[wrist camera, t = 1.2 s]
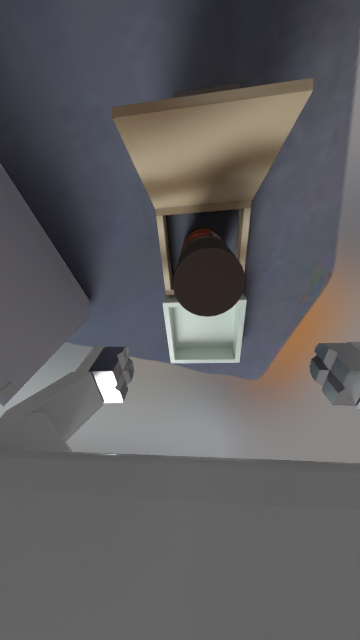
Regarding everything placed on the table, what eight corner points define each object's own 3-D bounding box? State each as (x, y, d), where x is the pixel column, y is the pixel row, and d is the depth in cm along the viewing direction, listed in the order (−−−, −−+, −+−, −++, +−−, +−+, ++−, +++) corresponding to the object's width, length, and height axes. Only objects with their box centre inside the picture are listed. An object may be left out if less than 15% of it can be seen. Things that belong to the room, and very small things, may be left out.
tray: (166, 292, 32) (162, 303, 29) (241, 289, 31) (246, 299, 28) (172, 349, 39) (170, 363, 35) (235, 348, 38) (239, 362, 34)
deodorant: (227, 233, 27) (258, 257, 14) (215, 273, 30) (230, 322, 17) (187, 223, 27) (181, 239, 14) (178, 264, 30) (167, 308, 17)
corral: (159, 208, 26) (155, 208, 23) (245, 200, 25) (251, 200, 22) (168, 287, 32) (166, 294, 29) (238, 284, 31) (242, 291, 28)
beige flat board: (154, 208, 23) (154, 196, 23) (252, 199, 22) (252, 187, 22) (112, 118, 12) (110, 92, 11) (313, 90, 10) (314, 61, 10)
